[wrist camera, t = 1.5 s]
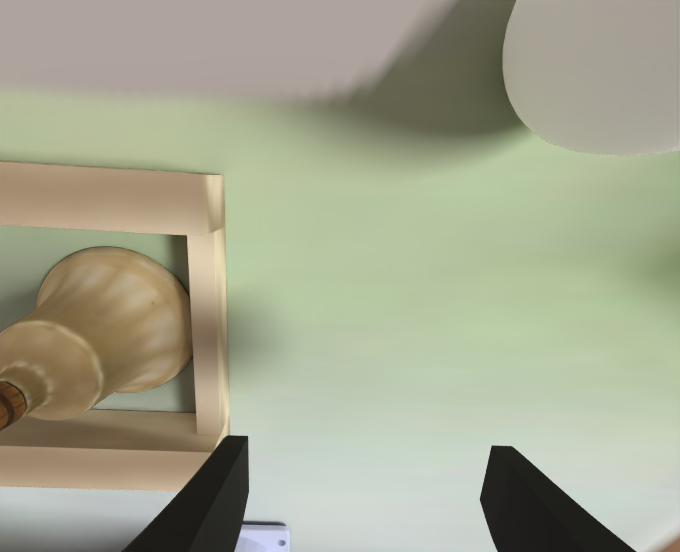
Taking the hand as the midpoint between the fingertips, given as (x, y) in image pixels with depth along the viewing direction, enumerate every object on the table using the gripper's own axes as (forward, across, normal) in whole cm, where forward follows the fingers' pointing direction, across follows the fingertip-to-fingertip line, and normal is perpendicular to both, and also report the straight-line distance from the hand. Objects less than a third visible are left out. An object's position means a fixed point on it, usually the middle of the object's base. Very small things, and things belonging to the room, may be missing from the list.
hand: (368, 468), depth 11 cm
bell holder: (+9, +13, 0) cm, 16 cm away
